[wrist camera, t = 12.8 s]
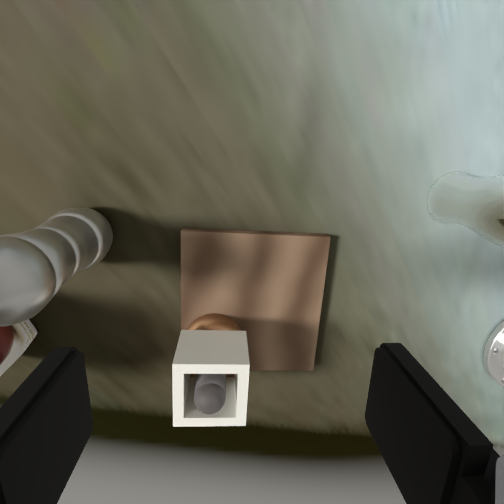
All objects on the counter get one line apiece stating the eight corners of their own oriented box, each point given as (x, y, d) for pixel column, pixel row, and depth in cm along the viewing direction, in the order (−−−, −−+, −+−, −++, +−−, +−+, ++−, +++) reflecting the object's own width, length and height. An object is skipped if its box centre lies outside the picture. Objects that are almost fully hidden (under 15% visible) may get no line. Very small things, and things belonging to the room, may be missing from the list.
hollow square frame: (246, 330, 36) (249, 364, 30) (242, 384, 38) (245, 425, 32) (181, 329, 35) (172, 364, 30) (181, 384, 37) (173, 426, 32)
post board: (326, 233, 39) (373, 271, 27) (310, 363, 44) (342, 445, 32) (182, 227, 38) (160, 264, 25) (182, 362, 43) (164, 448, 30)
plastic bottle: (130, 235, 37) (31, 321, 18) (88, 271, 38) (-49, 389, 19) (87, 191, 36) (-72, 235, 17) (44, 230, 37) (-154, 314, 18)
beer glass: (468, 229, 40) (601, 272, 26) (415, 223, 40) (522, 263, 25) (487, 171, 38) (642, 183, 24) (432, 164, 38) (558, 171, 23)
